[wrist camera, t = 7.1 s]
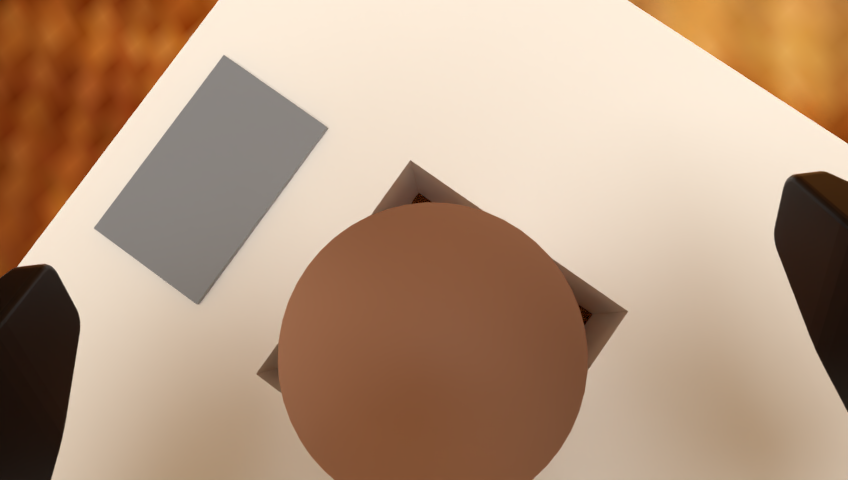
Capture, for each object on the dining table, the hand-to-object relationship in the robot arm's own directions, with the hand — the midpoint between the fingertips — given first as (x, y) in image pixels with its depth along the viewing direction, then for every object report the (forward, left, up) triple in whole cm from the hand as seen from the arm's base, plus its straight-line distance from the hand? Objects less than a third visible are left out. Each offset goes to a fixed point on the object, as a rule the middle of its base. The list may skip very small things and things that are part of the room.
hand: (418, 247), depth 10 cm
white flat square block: (-1, -1, -13) cm, 13 cm away
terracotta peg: (-1, -1, -13) cm, 13 cm away
